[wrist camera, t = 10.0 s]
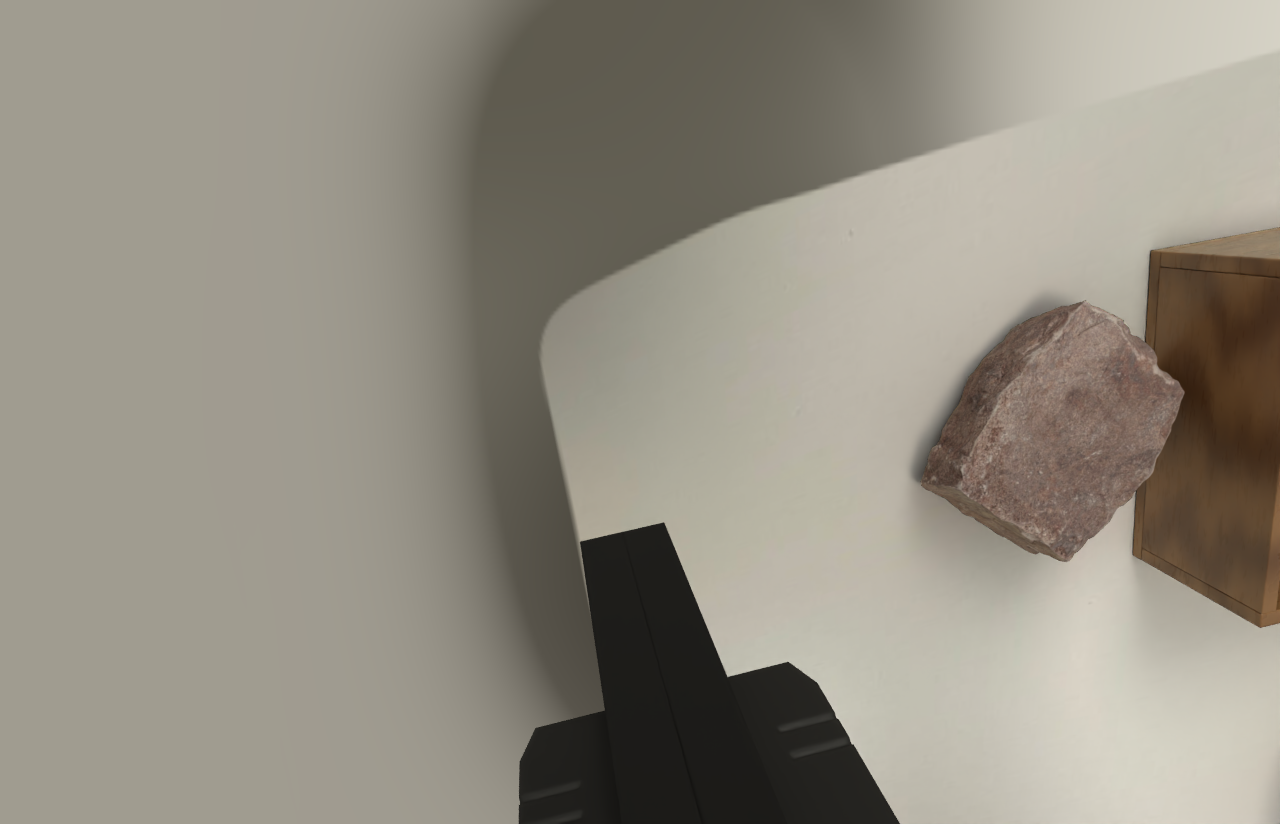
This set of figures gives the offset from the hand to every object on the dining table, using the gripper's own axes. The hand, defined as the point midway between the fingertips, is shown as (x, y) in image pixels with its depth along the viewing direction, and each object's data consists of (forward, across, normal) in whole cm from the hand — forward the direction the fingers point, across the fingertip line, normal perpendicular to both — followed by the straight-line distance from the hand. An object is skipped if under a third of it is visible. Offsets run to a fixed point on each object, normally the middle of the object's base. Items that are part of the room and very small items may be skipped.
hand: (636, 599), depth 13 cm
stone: (+22, +23, -9) cm, 33 cm away
